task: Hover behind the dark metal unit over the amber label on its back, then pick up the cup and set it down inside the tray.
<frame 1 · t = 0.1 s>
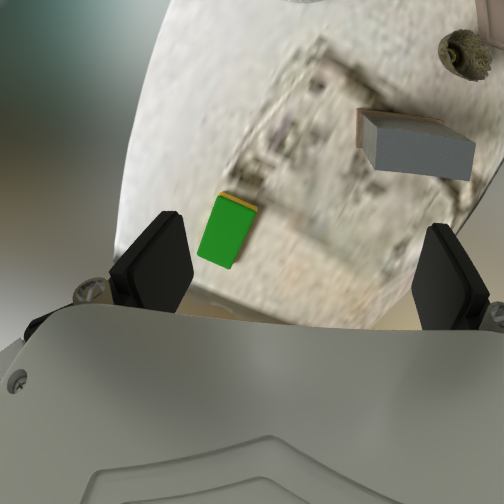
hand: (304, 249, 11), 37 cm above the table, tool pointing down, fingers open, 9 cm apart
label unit: (399, 131, 39), on the table
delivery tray: (502, 21, 22), on the table
cup: (447, 55, 30), on the table
dish sponge: (227, 228, 56), on the table
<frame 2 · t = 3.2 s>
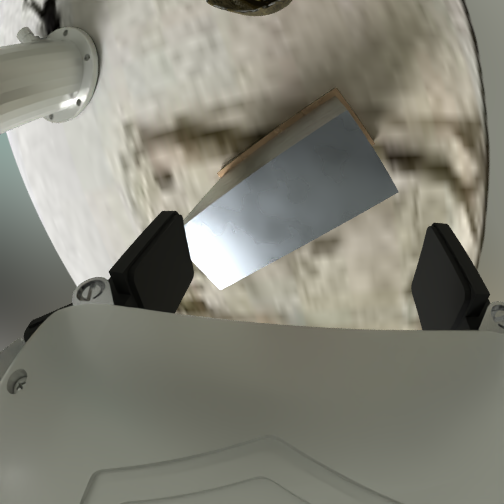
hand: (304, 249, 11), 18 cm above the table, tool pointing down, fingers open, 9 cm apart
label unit: (293, 154, 27), on the table
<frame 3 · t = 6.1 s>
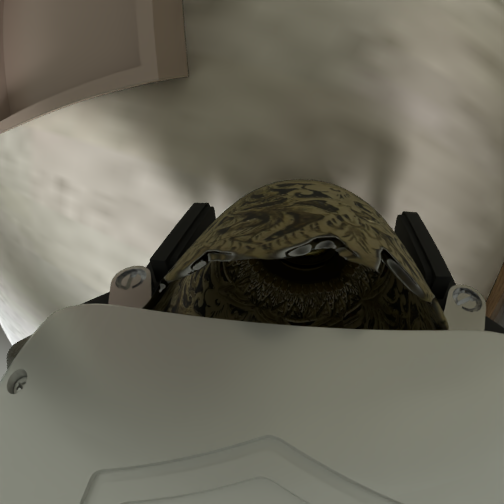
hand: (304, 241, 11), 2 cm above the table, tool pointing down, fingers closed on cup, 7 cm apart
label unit: (494, 342, 14), on the table
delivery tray: (74, 0, 8), on the table
cup: (305, 220, 13), on the table, touching gripper
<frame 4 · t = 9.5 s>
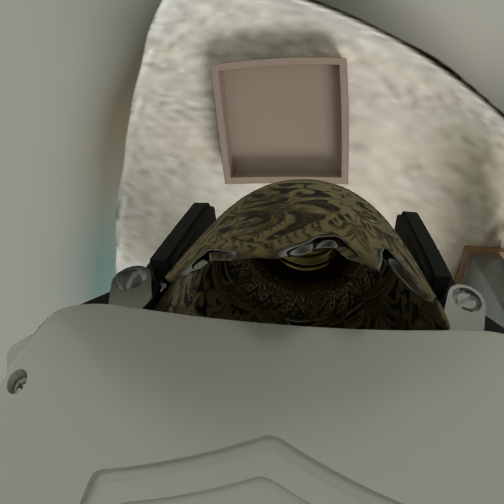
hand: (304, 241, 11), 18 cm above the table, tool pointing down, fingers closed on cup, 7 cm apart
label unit: (467, 292, 31), on the table
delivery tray: (284, 118, 25), on the table
cup: (307, 219, 13), point 16 cm above the table, touching gripper
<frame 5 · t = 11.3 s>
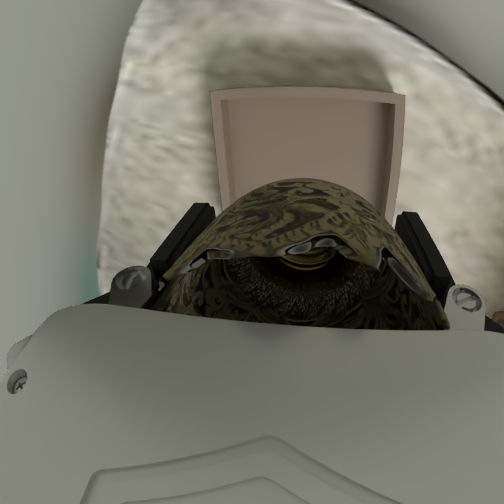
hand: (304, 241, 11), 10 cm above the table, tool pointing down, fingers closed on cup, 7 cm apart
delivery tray: (309, 167, 19), on the table
cup: (306, 219, 13), point 8 cm above the table, touching gripper
when the fingers open (4 cm above the table, at t = 12.9 s): cup drops 1 cm, resting on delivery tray.
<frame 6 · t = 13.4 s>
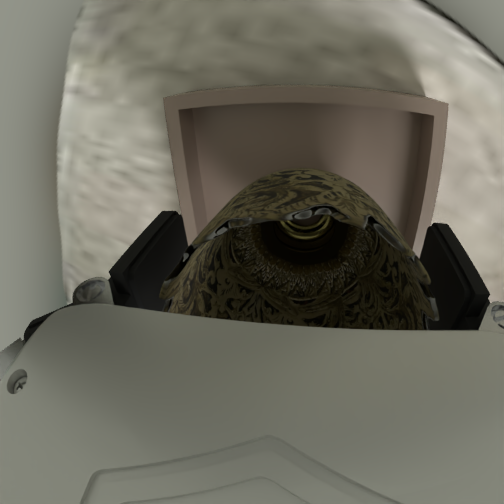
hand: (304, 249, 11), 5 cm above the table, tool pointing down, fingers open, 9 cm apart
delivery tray: (307, 198, 15), on the table
cup: (304, 207, 14), point 1 cm above the table, touching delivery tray
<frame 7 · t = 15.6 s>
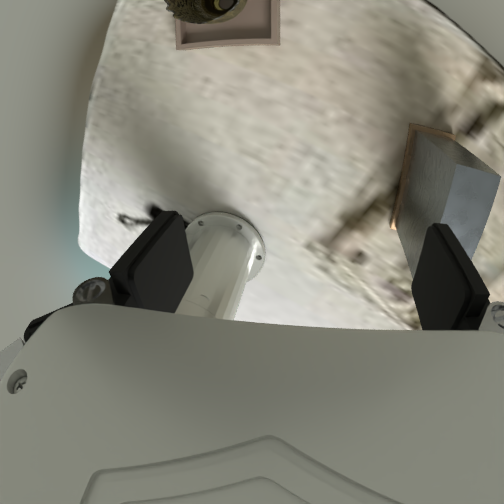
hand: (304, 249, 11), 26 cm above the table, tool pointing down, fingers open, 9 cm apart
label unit: (421, 180, 32), on the table
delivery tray: (230, 3, 24), on the table
cup: (227, 3, 24), point 1 cm above the table, touching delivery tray
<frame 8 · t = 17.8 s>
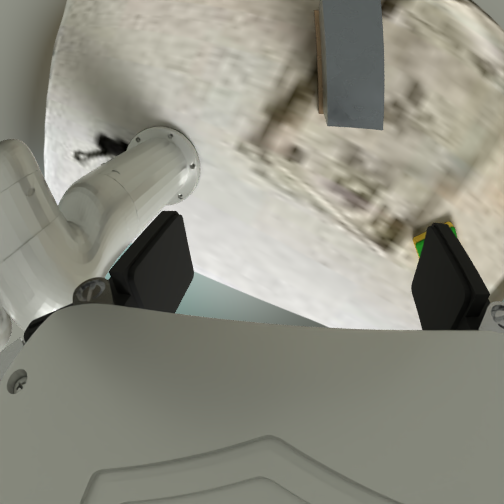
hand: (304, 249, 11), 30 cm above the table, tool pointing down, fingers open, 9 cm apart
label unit: (341, 62, 30), on the table
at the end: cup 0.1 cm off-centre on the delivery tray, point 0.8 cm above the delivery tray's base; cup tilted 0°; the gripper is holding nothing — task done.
